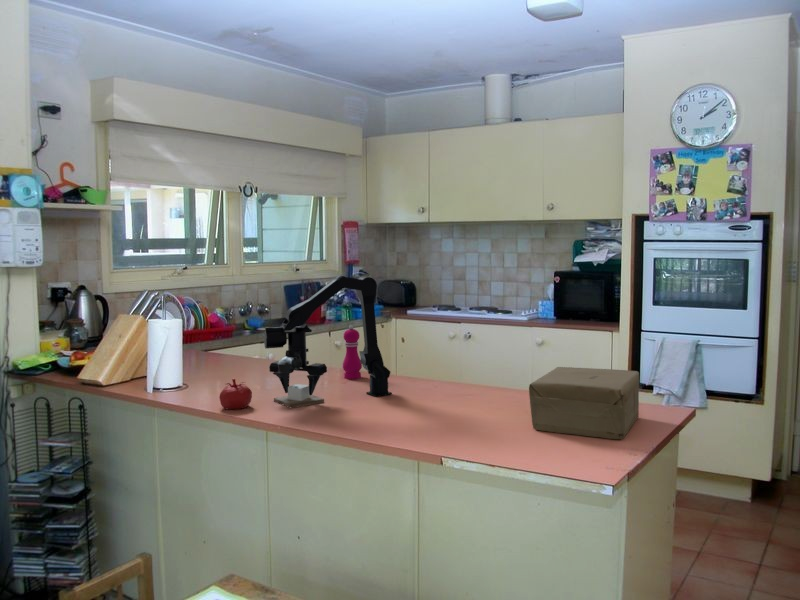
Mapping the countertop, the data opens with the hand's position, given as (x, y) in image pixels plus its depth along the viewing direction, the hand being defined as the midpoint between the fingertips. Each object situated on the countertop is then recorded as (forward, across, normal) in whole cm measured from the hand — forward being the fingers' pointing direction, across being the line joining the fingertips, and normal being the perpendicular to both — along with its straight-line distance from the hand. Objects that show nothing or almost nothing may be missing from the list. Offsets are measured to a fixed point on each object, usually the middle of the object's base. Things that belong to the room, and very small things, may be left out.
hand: (298, 394), depth 230 cm
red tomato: (+3, -15, -14) cm, 20 cm away
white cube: (+1, 0, 0) cm, 1 cm away
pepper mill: (+3, -2, +40) cm, 41 cm away
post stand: (+2, 0, 0) cm, 2 cm away
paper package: (+3, +91, +5) cm, 91 cm away
